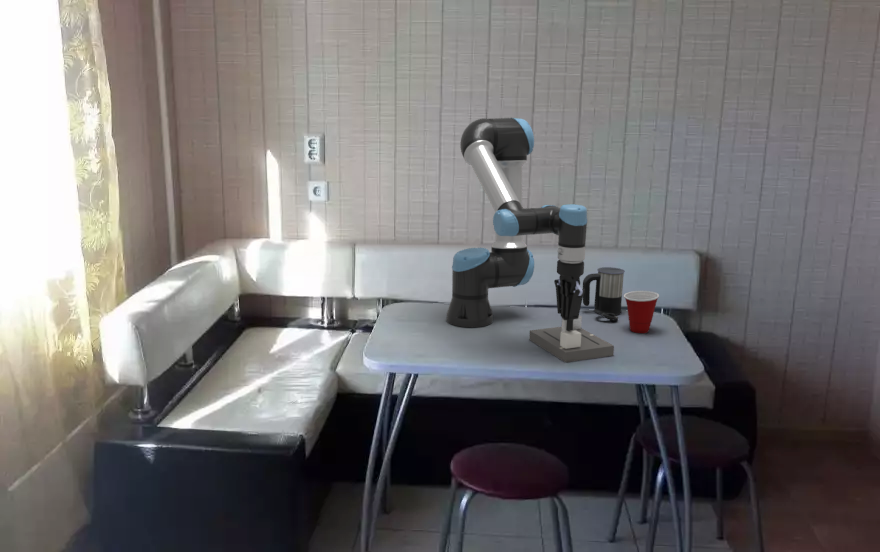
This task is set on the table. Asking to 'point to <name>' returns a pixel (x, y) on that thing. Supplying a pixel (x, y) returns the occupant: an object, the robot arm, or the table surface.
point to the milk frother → (605, 291)
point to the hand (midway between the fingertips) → (566, 340)
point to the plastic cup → (640, 309)
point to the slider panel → (588, 349)
